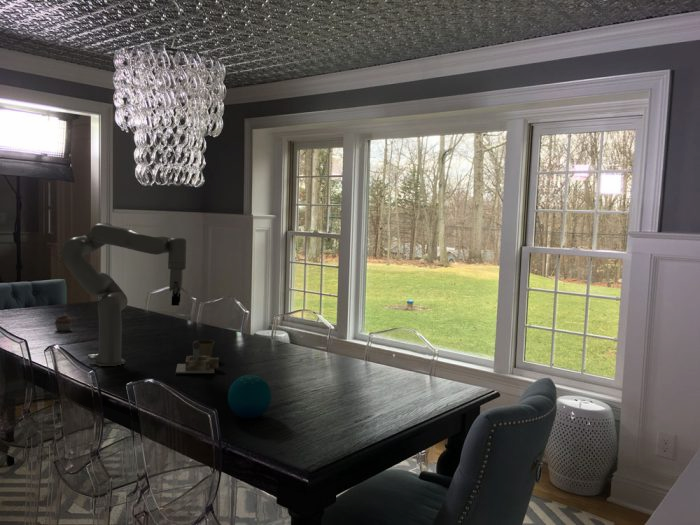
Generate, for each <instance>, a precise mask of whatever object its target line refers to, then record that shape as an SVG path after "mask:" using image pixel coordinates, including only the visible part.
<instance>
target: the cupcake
mask: <svg viewBox="0 0 700 525" xmlns="http://www.w3.org/2000/svg"><path fill="white" fill-rule="evenodd" d="M54 324H55V327H56V330H57V332H59V331H60V333H63V332H69V331H70V330H71V327H72V325H73V321H72V319H71V317H70V316H69V315H68V314H66V313H64V312H62V314H61V315H59V316H58V317H56V319H55V321H54Z"/></svg>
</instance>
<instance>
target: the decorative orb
mask: <svg viewBox="0 0 700 525" xmlns="http://www.w3.org/2000/svg"><path fill="white" fill-rule="evenodd" d="M271 401H272V392H271V388H270V386H269V384H268V383H267V381H266V380H265V379H264V378H262V377H260V376H259V375H255V374H245V375H242V376H239V377H238V378H236V379H235V380H234V381H233V382H232V384H231V385H230V387H229V389H228V392H227V402H228V403H227V404H228V406H229V408H230V410H231V412H233V413H234V414H235V415H236V416H238V417H240V418H242V419H246V418H252V419H255V417H256V418H258V417H260V416H262V415H263V414H264V413H265V412H266V411H267V409H268V408H270V404H271Z"/></svg>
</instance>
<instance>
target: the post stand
mask: <svg viewBox="0 0 700 525" xmlns="http://www.w3.org/2000/svg"><path fill="white" fill-rule="evenodd" d="M191 348H192V350H193V351H192V356H193V361H199V348H200V343H199V342H198V340H195V341H193V342H192V344H191ZM185 365H186V363H177V365H176V370H175V374H176V373H214V374H215V368H209V370H198V371H185Z"/></svg>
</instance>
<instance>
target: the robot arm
mask: <svg viewBox="0 0 700 525" xmlns="http://www.w3.org/2000/svg"><path fill="white" fill-rule="evenodd" d="M106 245H110V246H114V247H120V248H124V249H127V250H128V249H129V250H132V251H136V252H141V253H145V254H150V255H161V254H166V253H168V255H167V256H168V259H167V264H168V266H167V267H168V268H167V269H168V270H170V272H169V289H168V290H169V292H172V295H171V306H180V302H181V290H182V286H183V273H184V272H183V271H184V270H186V269H187V268H186V266H187V265H186V262H187V239H186V238H183V237H166V236H150V235H146V234H141V233H138V232H135V231H134V230H133V229H130V228H127V227H126V228H125V227H121V226H116V225H112V224H111V223H107V222H101V223H100V222H99V223H96V224H94V225H92V227H91V229H90V231H88V232H86V233H85V234H84V235H83V234H82V235H81V236H74V237H70V238H69V239H67V240H66V242H64V244H63V246H62V248H61V258H62V262H63V264H64V266H65V267H66V268H67V269H68V271H69V272H70V273H71V274H72V275H73V277H74V278H75V279H76V281H77V282H78V283H79V284H80V285H81V287H82V288H83V289H84V290H85V291H86V293H87V294H88V295H90V296H93V297H95V296H99V297H100V299H99V301H98V303H97V313H98V353H96V354H88V356H87V360H91V361H92V360H94V365H95V366H97V365H98V366H97V367H101V366H114V367H118V366H117V365H120V366H122V365H121V364H123V365H125V363H126V359H124V358H122V339H123V336H122V334H123V332H122V331H123V320H122V311H123V310H125V308H127V306H128V302H129V300H128V297H127V295H126V293H125V291H123V290H122V288H121V287H120V286H119V284H117V283H116V281H115V280H114V279H113V278H112V277H111V276H110V275H109V274H107V273H104V272H98V271H97V270H96V269H95V268H94V267H93V265H92V263H90V262H89V261H88V260H87V259H86V258H85V257H84V256H85V255H86V256H87V255H89V254H91V253H94V252H95V251H96V250H98V249H100V248H102V247H103V246H106Z"/></svg>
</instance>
